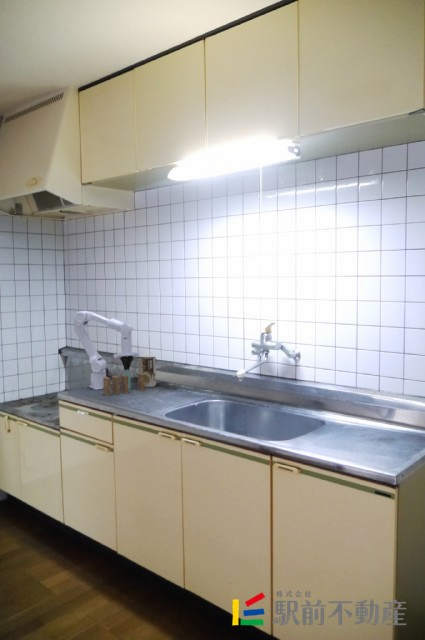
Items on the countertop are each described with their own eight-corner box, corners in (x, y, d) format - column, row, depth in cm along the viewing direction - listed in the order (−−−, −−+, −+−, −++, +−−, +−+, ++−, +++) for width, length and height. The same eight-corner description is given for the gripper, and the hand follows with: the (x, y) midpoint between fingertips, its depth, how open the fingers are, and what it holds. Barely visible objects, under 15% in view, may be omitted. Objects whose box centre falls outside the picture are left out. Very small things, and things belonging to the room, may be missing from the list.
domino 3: (127, 389, 279) (127, 373, 278) (123, 388, 283) (123, 372, 282) (130, 389, 280) (130, 373, 279) (126, 387, 284) (126, 371, 284)
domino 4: (125, 393, 270) (124, 376, 269) (121, 391, 274) (120, 375, 273) (128, 392, 271) (128, 376, 270) (124, 391, 275) (124, 374, 274)
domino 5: (142, 391, 275) (141, 374, 275) (137, 389, 279) (137, 373, 279) (145, 390, 276) (145, 374, 276) (141, 389, 281) (141, 372, 280)
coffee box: (156, 384, 293) (156, 356, 291) (154, 386, 286) (153, 358, 285) (140, 384, 293) (140, 356, 292) (138, 386, 287) (137, 358, 286)
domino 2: (116, 394, 267) (115, 377, 266) (112, 392, 271) (112, 376, 270) (119, 394, 268) (119, 377, 267) (115, 392, 272) (115, 375, 271)
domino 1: (107, 395, 264) (106, 378, 263) (103, 394, 268) (103, 377, 268) (110, 395, 265) (110, 378, 265) (107, 393, 269) (106, 376, 269)
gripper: (117, 347, 272) (117, 372, 274) (141, 345, 281) (141, 369, 282) (111, 345, 278) (112, 370, 279) (136, 343, 286) (136, 367, 287)
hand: (126, 369), depth 281 cm, fingers closed
